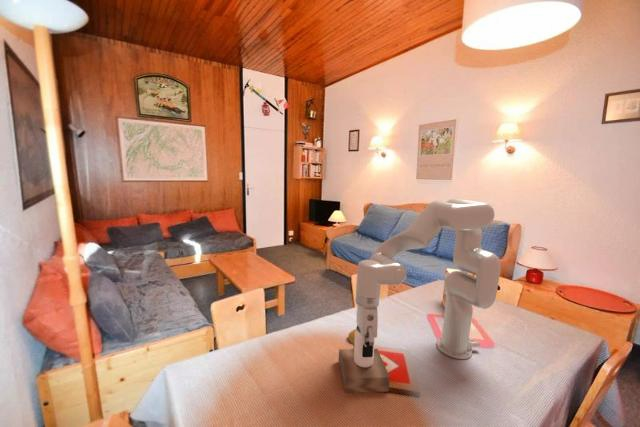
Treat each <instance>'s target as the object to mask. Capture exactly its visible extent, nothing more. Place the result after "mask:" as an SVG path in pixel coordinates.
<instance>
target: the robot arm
mask: <svg viewBox="0 0 640 427" xmlns="http://www.w3.org/2000/svg"><path fill="white" fill-rule="evenodd" d="M494 219H495V209H494V208H493V207H492V205H491V204H489V203H486V202H483V201H475V200H469V199H462V198H451V199H448V200H447V201H441V200H440V201H439V200H436V201H435V200H434V201H432V202H430V203H428V204H427V206H426V207H425V208H424V209H423V210H422V211H421V212H420V213H419V215H417V217H416V218H415V220H414V221H412V223H410V225H409V226H408V227H407V229H405V230H404V231H401V232H399V233H397V234H395V235H393V236H391V237H389V238H387V239H386V240H385V241H383V242H382V243H381V244H380V245H379V246H377V248H376V249H375V251H373V253H372V255H370V258H369V259H363V260H360V261H359V262H358V264H357V271H356V288H355V289H356V290H355V301H354V303H355V304H356V305H357V307H356V327H357V326H358V328H359V331H360V333H361V335H362V337H363V338H364V345H363V351H362V356H363V357H372V356H373V346H374V347H375V339H376V338H377V337H378V328H379V327H378V326H379V325H378V322H379V320H378V317H379V316H378V307H379V305H380V294H381V286H382V285H383V286H385V285H386V286H397V285H400V284H402V283H404V281H405V280H406V279H407V276H408V270H407V268H406V267H405V265H403V264H402V263H400V262H399V261H397V260H395V259H394V257H395V256H397V255H398V254H400V253H402V252H404V251H409V250H417V249H425V248H426V247H428V246H429V245H430V243H431V242H432V241H433V239H435V237H436V236H437V235H438V234H439V232H441V231H442V229H448V230H451V231H455V241H454V249H453V255H452V256H453V258H452V262H453V265H454V266H455V267H456V268H458V269H459V270H460V271H453V272H451V273H449V274H448V276H447V277H446V280H445V279H444V282H445V290H446V305H445V307H444V313H443V314H444V315H443V322H442V332H441V337H440V338H438V339H437V340H436V348H437V349H438V350H439V351H440V352H441V353H443V354H444V355H445V356H448V357H450V358H454V359H458V360H466V359H469V358H471V356H472V353H473V350H472V348H473V347H475V348H478V347H481V344H480V341H476V340H475V341H474V340H473V338H472V337H471V338H470V334H471V327H472V318H473V313H474V310H473V306H474V307H476V308H478V309H482V310H486V309H490V308H491V306H492V305H494V303H495V301H496V297H497V292H498V286H499V281H500V275H501V261H500V258H499V256H497V254H495V253H493V252H491V251H489V250H485V249H482V240H483V237H482V236H483V232H482V229H484V228H486V227H488V226H489V225H491V223H493V221H494ZM461 270H462V271H461ZM466 272H467V273H466ZM471 274H472V275H471ZM473 275H474V276H473ZM475 276H476V277H475ZM366 334H368V336H365V335H366ZM373 336H374V337H373ZM366 338H369V341H367V342H366Z"/></svg>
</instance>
